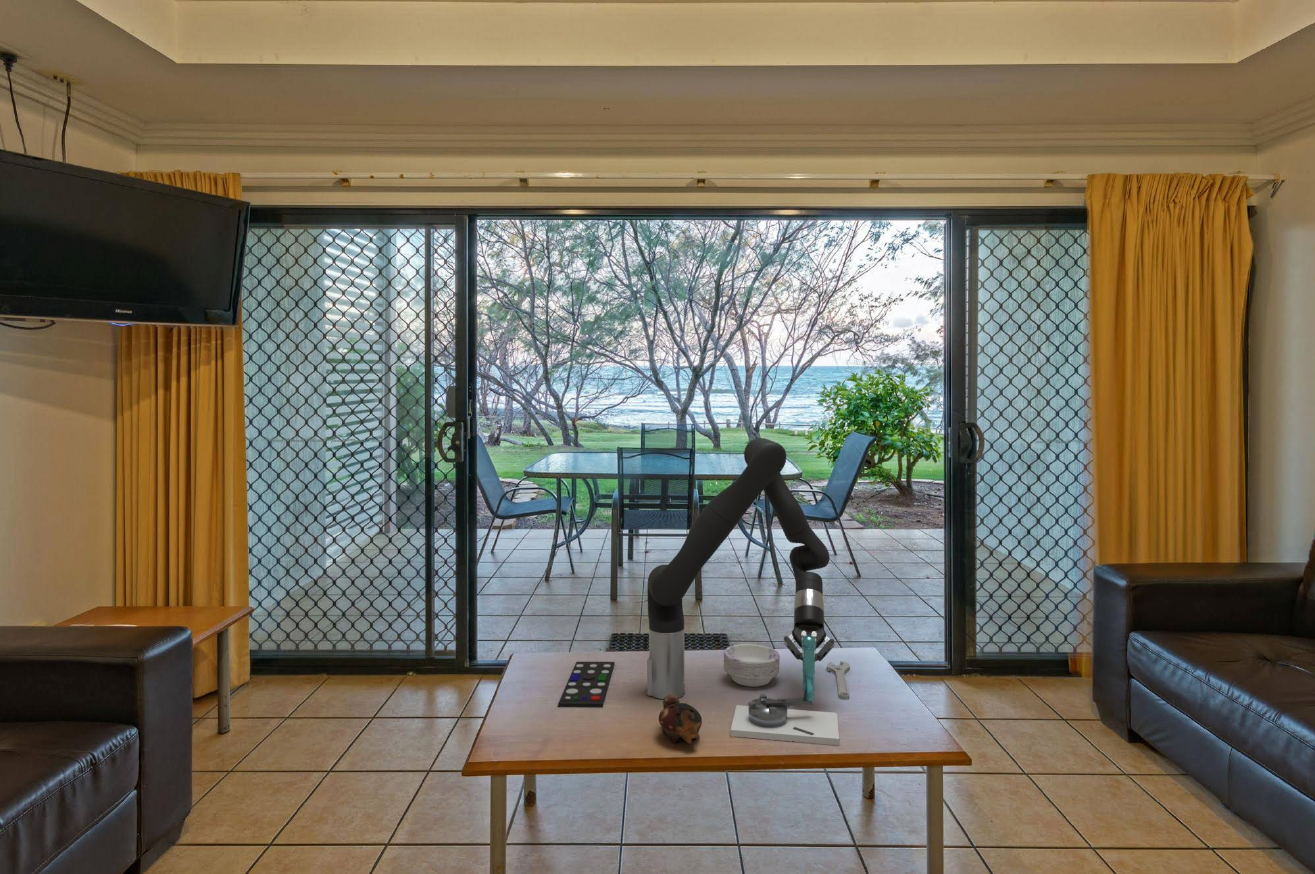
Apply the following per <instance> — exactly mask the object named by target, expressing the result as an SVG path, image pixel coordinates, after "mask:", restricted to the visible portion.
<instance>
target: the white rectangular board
mask: <svg viewBox="0 0 1315 874" xmlns="http://www.w3.org/2000/svg"><path fill="white" fill-rule="evenodd" d="M730 737H734V738H735V737H737V738H745V737H746V738H747V739H757V740H758V739H761V740H768V739H769V740H770V741H781V742H792V741H794V743H802V744H803V743H804V744H805V743H806V744H818V745H826V746H827V745H829V746H830V745H831V746H840V733H839V721H838V712H829V711H819V710H818V711H817V710H805V709H794V708H791V709H790V708H787V722H786V723H785V724H783V725H781V726H776V727H765V726H759V725H756V724H754V723H752V722H751V721H750V720H749V718H748V705H738V704H736V706H735V711H734V714H733V717H732V723H731V727H730Z"/></svg>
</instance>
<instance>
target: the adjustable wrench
mask: <svg viewBox="0 0 1315 874" xmlns="http://www.w3.org/2000/svg"><path fill="white" fill-rule="evenodd" d="M825 670H826V672H828V673H831V672H832V674H833V673H834V674H833V675H835V678H836V679H837V680H836V686H837V693H838V699H840V700H842V699H843V701H847V700H850V691H849V688H848V683H847V679H846V676H845V675H846V674H847V673H848V672H850V671H849V670H851V665H850V663H848V662H846V661H842V660H841V661H840V662H839V665H835V664H834V662H832V661H829V662H828V663H827V666H826V669H825ZM845 673H846V674H845Z"/></svg>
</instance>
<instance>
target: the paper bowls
mask: <svg viewBox="0 0 1315 874" xmlns="http://www.w3.org/2000/svg"><path fill="white" fill-rule="evenodd" d="M780 656H781V655H780V653H779V651H777V650H776V649H775V648H772V647H770V646H766V645H762V644H761V645H760V644H755V643H741V644H734V645H731V646H727V648H725V649H724V651H723V670H724V672H725V673H726V674H727V675H729V676H731V679H732V681H734V682H735V683H736V684H738V685H740V686H744V687H753V688H754V687H762V686H766V685H768V684H769V683H770V682H771V680H772V678H775V677H776V676H778V674H780V660H781V657H780Z"/></svg>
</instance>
